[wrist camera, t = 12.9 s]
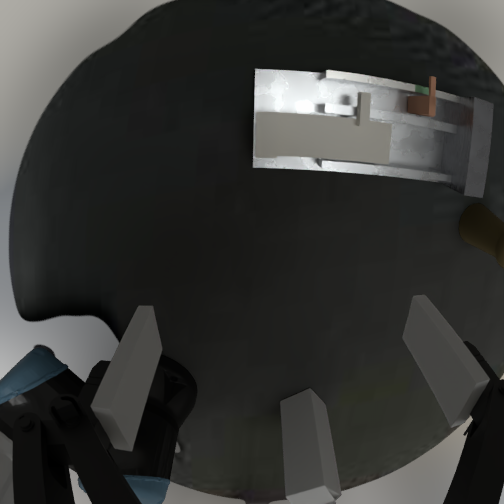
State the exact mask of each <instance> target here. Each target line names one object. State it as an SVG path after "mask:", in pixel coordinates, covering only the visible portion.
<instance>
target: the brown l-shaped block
mask: <svg viewBox="0 0 504 504" xmlns="http://www.w3.org/2000/svg"><path fill="white" fill-rule="evenodd" d="M435 94H436V77H432V76H429V96H408V111H407V113H411V114H416V115H421V116H428V117H434V116H435V110H436V97H435Z"/></svg>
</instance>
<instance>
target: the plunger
mask: <svg viewBox="0 0 504 504" xmlns="http://www.w3.org/2000/svg"><path fill="white" fill-rule="evenodd" d="M370 102H371V93H366V92H358V97H357V118H356V119H353V118H345V117H335V116H325V115H313V114H299V113H281V112H256V150H255V158H277V156H291V157H309V158H325V159H338V160H350V161H360V162H370V163H380V164H389V155H390V144H391V132H392V124H390V123H383V122H376V121H370Z"/></svg>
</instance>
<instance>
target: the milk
mask: <svg viewBox="0 0 504 504" xmlns="http://www.w3.org/2000/svg"><path fill="white" fill-rule="evenodd" d="M280 408H281V424H282V440H283V457H284V475H285V494H286V498H287V499H288V501H289V502H290V503H291V504H336V502H335V500H337V499H338V498H339V497H340V496H341V489H340V483H339V477H338V471H337V465H336V459H335V453H334V448H333V442H332V437H331V431H330V426H329V420H328V415H327V410H326V405H325V403H324V402H323V401H322V400H321V399H320V398H319V397H318V396H317V395H316V394H315V393H314V391H313V390H312V389H311V388H309V389H307V390H304V391H302V392H300V393H298V394H295V395H293V396H291V397H288V398H286V399H284V400H281V401H280Z"/></svg>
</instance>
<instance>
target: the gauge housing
mask: <svg viewBox="0 0 504 504" xmlns="http://www.w3.org/2000/svg"><path fill="white" fill-rule="evenodd" d="M358 92H366V93H371V102H370V121H376V122H383V123H390V124H392V132H391V144H390V155H389V164H380V163H370V162H360V161H350V160H338V159H325V158H309V157H291V156H277V158H255V150H256V112H281V113H299V114H313V115H325V116H335V117H345V118H353V119H356V118H357V97H358ZM408 96H429V88H427V87H423V86H419V85H414V84H409V83H404V82H400V81H395V80H390V79H385V78H379V77H374V76H368V75H361V74H355V73H348V72H340V71H332V70H326V71H324V72H322V73H314V72H302V71H288V70H268V69H255V100H254V143H253V168H284V169H305V170H322V171H336V172H349V173H361V174H372V175H382V176H392V177H401V178H410V179H418V180H426V181H433V182H439V183H441V184H443V185H445V186H447V187H449V188H451V189H453V190H455V191H457V192H459V193H461V194H463V195H466V196H473V197H480V198H483V193H484V187H485V181H486V175H487V168H488V161H489V153H490V144H491V133H492V120H493V103H490V102H487V101H484V100H481V99H478V98H475V97H459V96H456V95H452V94H449V93H445V92H442V91H438V90H436V94H435V97H436V110H435V116H434V117H428V116H421V115H416V114H411V113H407V111H408Z"/></svg>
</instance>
